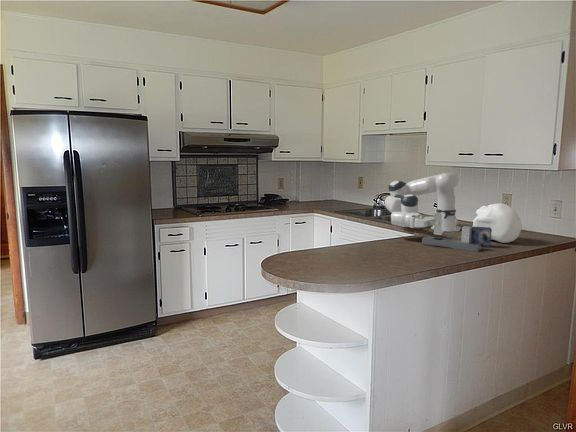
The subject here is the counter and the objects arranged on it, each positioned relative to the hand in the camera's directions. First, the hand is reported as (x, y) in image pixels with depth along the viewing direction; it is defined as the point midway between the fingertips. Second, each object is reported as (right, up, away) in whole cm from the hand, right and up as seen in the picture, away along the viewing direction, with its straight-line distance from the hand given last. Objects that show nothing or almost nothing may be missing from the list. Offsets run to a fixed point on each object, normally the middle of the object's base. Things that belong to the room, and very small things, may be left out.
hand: (440, 222), depth 233 cm
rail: (+5, -13, -2) cm, 14 cm away
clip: (-1, -6, +1) cm, 7 cm away
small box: (+22, -13, 0) cm, 26 cm away
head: (+37, -11, +16) cm, 42 cm away
